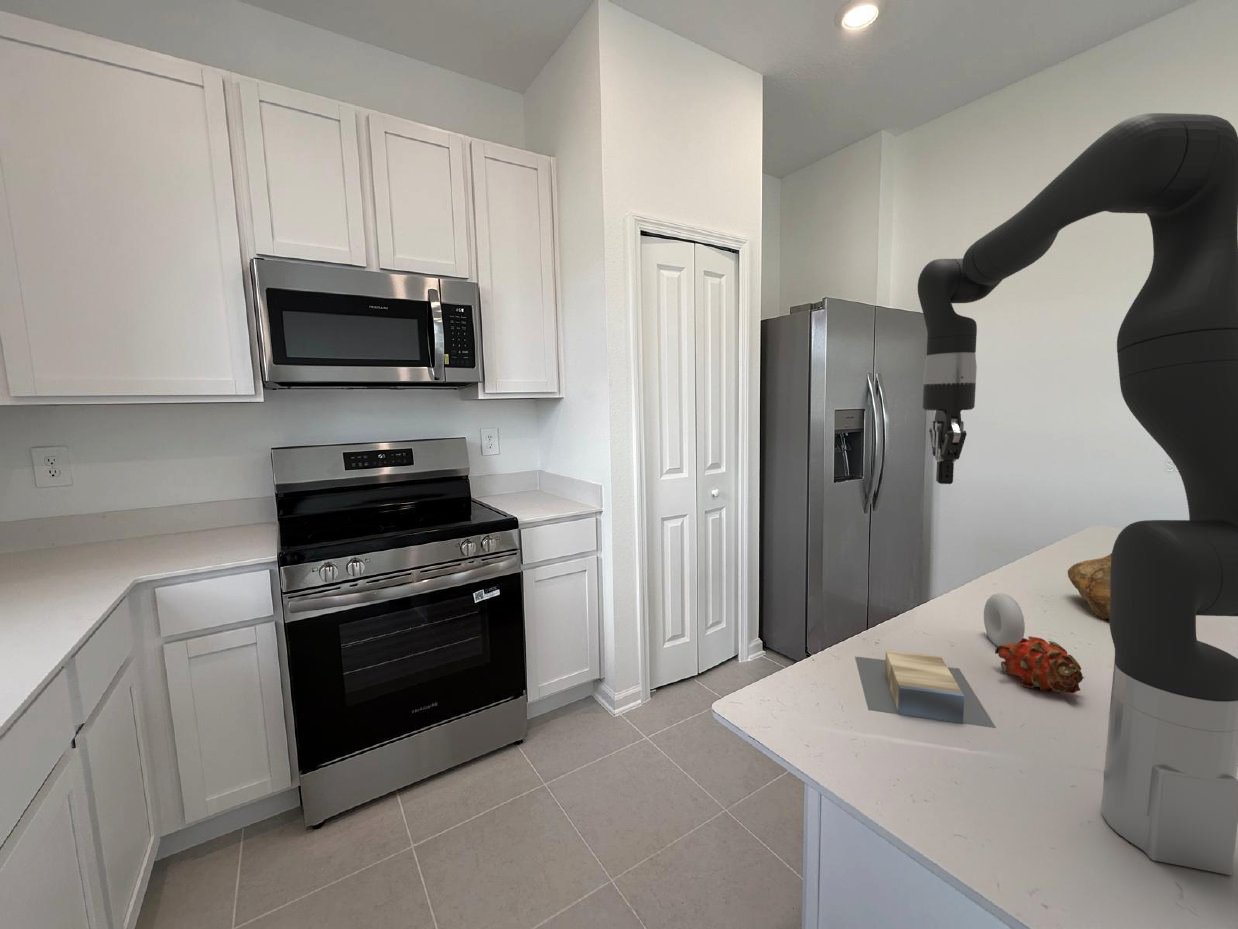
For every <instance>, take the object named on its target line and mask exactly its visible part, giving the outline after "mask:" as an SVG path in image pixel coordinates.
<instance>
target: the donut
mask: <svg viewBox="0 0 1238 929" xmlns="http://www.w3.org/2000/svg"><path fill="white" fill-rule="evenodd" d="M983 624H984V628H985V632H986V634H987V636H988V639H989V640H990V641H991V642H992V643H993V645H995V646H996V647H997V648H998V647H999V646H1000V645H1007V644H1010V643H1019V642H1020V641H1021V640H1022V639H1023V638H1024V636H1025V633H1026V631H1025V628H1026V627H1025V626H1026V625H1025V617H1024V614H1023V611H1022V608H1021V607H1020V605H1019V603H1018V602H1017V601H1016V600H1015V598H1013V596H1011V595H1008V594H1006V593H1003V592H997V593H994V594H992V595H991V596H989V598H988V599H987V600H986V602H985V605H984V609H983Z"/></svg>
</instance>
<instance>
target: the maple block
mask: <svg viewBox="0 0 1238 929" xmlns="http://www.w3.org/2000/svg"><path fill="white" fill-rule="evenodd" d="M884 660H885V675H886V678H887V681H888V684H889V687H890V690H891V693H892V696H893V698H894V701H895V704H896V707H897V710H898V713H899V714H898V715H902V716H907V717H908V716H910V717H913V718H923V719H930V720H937V721H943V722H949V721H950V723H956V722H957V724H964V723H963V713H964V695H963V693H962V691H961V690H960V688H959V686H958V685H957V683H956V681H955V679H954V678H953V676H952V674H951V673H950V671H949V669H948V667H949V666H947V664H946V662H945V660H943V657H942V656H938V655H931V654H929V655H928V654H921V653H913V652H912V653H911V652H901V651H894V650H892V651H891V650H885V658H884Z"/></svg>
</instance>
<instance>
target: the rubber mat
mask: <svg viewBox="0 0 1238 929" xmlns="http://www.w3.org/2000/svg"><path fill="white" fill-rule="evenodd" d="M854 658H855V662H856V666H857V670H858V674H859V678H860V682H861V686H862V689H863V694H864V698H865V702H866V706H867V710H868V711H874V712H880V713H887V714H892V715H893V714H894V715H900V714H899V713H898V710H897V707H896V704H895V701H894V698H893V696H892V693H891V690H890V687H889V684H888V681H887V678H886V675H885V659H881V658H874V657H873V658H871V657H865V656H864V657H863V656H861V657H860V656H855V657H854ZM947 667H948V669H949V671H950V673H951V674H952V676H953V678H954V679H955V681H956V683H957V685H958V686H959V688H960V690H961V691H962V693H963V695H964V713H963V723H962V724H965V725H971V726H980V727H985V728H986V727H987V728H994V729H996V728H997V727H996V725H995V723H994V722H993V720H992V719H991V717H990V715H989V714H988V712H987V711H986V709H985V708H984V707H983V704H982V703H981V701H980V700H979V698H978V696H977V695H976V693H975V691H974V689H972V687H971V685H970V683H968V680H967V679H966V677H965V676H964V674H963V673H962V671H961V669H960V668H958V667H950V666H947ZM948 722H950V721H948ZM950 723H951V722H950ZM955 723H957V722H955ZM957 724H958V723H957Z"/></svg>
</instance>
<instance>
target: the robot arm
mask: <svg viewBox="0 0 1238 929" xmlns="http://www.w3.org/2000/svg"><path fill="white" fill-rule="evenodd" d="M1102 212H1103V213H1104V212H1109V213H1114V214H1116V213H1117V214H1146V215H1147V217H1148V219H1149V223H1150V226H1151V233H1152V234H1151V235H1152V243H1153V244H1152V245H1153V246H1152V247H1153V256H1152V264H1151V269H1150V271H1149V274H1148V275H1147V276H1148V277H1147V278H1146V280H1145V282H1144V284H1143V286H1142V288H1140V291H1139V292H1138V294H1137V295H1136V297H1135V299H1134V300H1133V302H1132V303H1131V305H1130V307H1129V309H1128V311H1127V313H1126V315H1125V316H1124V318H1123V320H1122V322H1121V325H1120V327H1119V330H1118V333H1117V336H1116V338H1117V339H1116V353H1117V365H1118V366H1117V367H1118V375H1119V376H1118V377H1119V385H1120V386H1119V387H1120V391H1121V395H1122V399H1123V400H1124V402H1125V404H1126V407H1127V408H1128V409H1129V411H1130V413H1132V416H1134V418H1135V419H1136V420H1137V421H1138V423H1139V424H1140V425H1141V426H1142V427H1143V428H1144V429H1145V431H1146V432H1147V433H1148V434H1149V435H1150V437H1151V438H1153V440H1154V441H1155V442H1156V443H1157V444H1158V445H1159V447H1160V448H1162V450H1163V451H1164V452H1165V453H1166V455H1167V456H1168V457H1169V458H1170V460H1171V461H1172V462H1173V464H1174V466H1175V468H1176V470H1177V471H1178V473H1179V475H1180V477H1181V480H1182V484H1183V487H1184V491H1185V496H1186V497H1185V498H1186V501H1187V508H1188V516H1189V518H1188V520H1187V519H1173V520H1172V519H1154V520H1153V519H1151V520H1150V519H1149V520H1148V519H1147V520H1140V521H1138V520H1137V521H1134V522H1132V523H1130V524H1128V525H1127V526H1125V527H1124V528H1123V529H1122V530H1121V531H1120V532H1119V533H1118V535H1117V537H1116V539H1115V541H1114V544H1113V547H1112V551H1111V553H1112V556H1111V567H1110V619H1109V620H1108V621H1109V622H1108V623H1109V630H1110V631H1109V632H1110V635H1111V639H1112V640H1111V641H1112V643H1113V647H1114V661H1113V672H1112V683H1111V691H1110V704H1109V715H1108V726H1107V735H1106V736H1107V739H1106V747H1105V760H1104V769H1103V770H1104V771H1103V784H1102V795H1101V797H1102V798H1101V808H1100V812H1101V814H1102V817H1103V819H1104V821H1105V822H1106V823H1107V824H1108V825H1109V827H1111V829H1112V830H1114V831H1115V832H1116V833H1117V834H1118V835H1120V836H1121V837H1122V838H1124V839H1125V840H1127V841H1128V842H1130V843H1131V844H1132V845H1134V846H1136V847H1137V848H1139V849H1141V851H1143V852H1144V853H1145V854H1146V855H1147V856H1148V858H1150V859H1151V860H1153V861H1155V862H1161V863H1166V864H1171V865H1176V866H1182V867H1187V868H1192V869H1198V870H1203V871H1208V872H1211V873H1212V872H1213V873H1218V874H1223V875H1229V876H1231V874H1232V873H1233V868H1234V860H1235V851H1236V841H1237V835H1238V834H1237V833H1238V779H1237V776H1238V658H1237V657H1236V656H1234V655H1233V654H1231V653H1229V652H1227V651H1226V650H1223V649H1221V648H1218V647H1216V646H1214V645H1211V644H1208V643H1206V642H1203V641H1200V640H1198V639H1197V616H1202V617H1203V616H1205V617H1206V616H1208V617H1238V132H1237V130H1236V128H1235V126H1233V125H1232V123H1231V122H1230V121H1229V120H1228V119H1224V118H1223V117H1220V116H1217V115H1213V114H1204V113H1203V114H1201V113H1176V112H1175V113H1174V112H1173V113H1170V112H1169V113H1165V112H1163V113H1162V112H1156V113H1155V112H1154V113H1153V112H1151V113H1144V114H1140V115H1134V116H1131V117H1128V118H1126V119H1125V120H1123V121H1120V122H1119V123H1117V124H1116V125H1114V126H1112V128H1110V129H1109V130H1108V131H1106V132H1105V133H1103V134H1102V135H1101V136H1099V137H1098V138H1097V139H1096V140H1095V141H1094V142H1092V143H1091V144H1090V145H1089V146H1088V147H1087V148H1086V149H1085V150H1084V151H1083V152H1082V153H1080V154H1079V156H1077V157H1076V158H1075V159H1074V160H1073V161H1072V162H1071V163H1070V164H1069V165H1067V167H1066V168H1065V169H1063V170H1062V171H1061V172H1060V173H1059V174H1058V175H1057V176H1056V177H1055V178H1054V179H1053V180H1051V181H1050V183H1048V185H1046V186H1045V187H1044V188H1043V189H1042V190H1041V191H1040V192H1039V193H1038V194H1037V195H1036V196H1035V197H1034V198H1032V200H1030V202H1029V203H1027V204H1026V205H1025V206H1024V207H1023V208H1022V209H1020V210H1019V211H1018V212H1016V213H1015V214H1014V215H1013V216H1012V217H1010V218H1009V219H1007V220H1006V221H1004V222H1003V223H1001V224H1000V225H998V226H997V227H995V228H994V229H992V230H990V232H988V233H987V234H985V235H983V236H981V237H980V238H979V239H977V240H976V241H975V242H973V244H971V245H970V246H969V247H968V248H967V249H966V251H965V253H964V255H963V258H938V259H933V260H932V261H929V262H928V263H927V264H926V265H925V266H924V267H923V269H922V270H921V272H920V275H919V277H918V281H917V294H918V299H919V304H920V307H921V310H922V315H923V319H924V323H925V327H926V332H927V340H926V356H925V359H926V360H925V364H924V371H923V389H922V391H923V393H922V408H923V410H924V411H935V413H934V414H935V415H934V420H932V421H931V427H930V428H929V435H930V443H931V450H932V456H933V457H934V459H935V461H936V474H935V475H936V477H935V478H936V479H935V482H937V483H938V484H941V485H951V484H952V483H953V482H954V469H955V468H954V467H955V466H954V464H955V463H956V461H957V460H959V459H960V457H961V453H962V450H963V446H964V443H965V441H966V438H967V435H968V434H967V431H966V430H964V426H965V425H964V424H965V422H964V421H963V420H962V414H961V412H962V411H970V410H973V409H974V408H975V404H976V389H977V388H976V386H977V370H978V369H977V368H978V367H977V356H976V351H977V334H978V333H977V332H978V324H977V321H976V320H975V319H974V318H971V317H968V316H964V315H960V314H959V313H957V312H956V311H955V309H954V306H953V304H969V303H974V302H978V301H980V300H982V299H984V298H986V297H987V296H988V295H989V294H990V293H991V292H993V290H995V288H997V286H999V284H1001V283H1002V281H1003V280H1005V279H1007V278H1009V277H1011V276H1012V275H1014V274H1016V273H1019V272H1020V271H1022V270H1024V269H1026V268H1028V267H1029V266H1031V265H1032V264H1034V263H1035V262H1037V261H1038V260H1040V259H1041V258H1042V257H1043V256H1044V255H1045V254H1046V253H1047V252H1048V251H1049V250H1050V248H1051V247H1052V245H1053V244H1054V242H1055V240H1056V238H1057V236H1058V234H1059V232H1060V231H1061V230H1062V229H1064V228H1066V227H1067V226H1069V225H1072V224H1074V223H1075V222H1077V221H1080V220H1083V219H1085V218H1087V217H1091V216H1093V215H1097V214H1101V213H1102Z"/></svg>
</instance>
